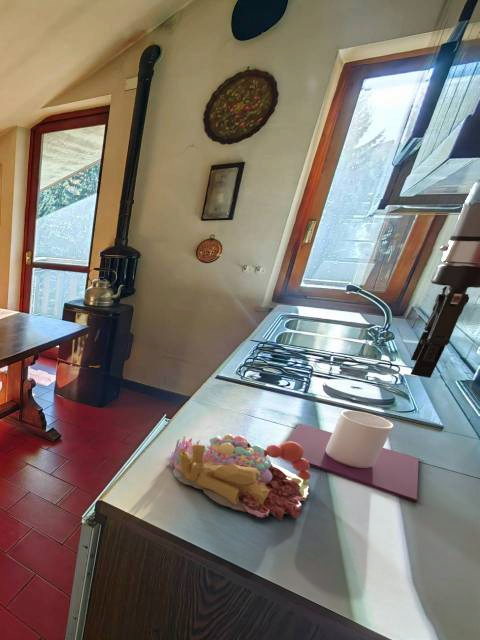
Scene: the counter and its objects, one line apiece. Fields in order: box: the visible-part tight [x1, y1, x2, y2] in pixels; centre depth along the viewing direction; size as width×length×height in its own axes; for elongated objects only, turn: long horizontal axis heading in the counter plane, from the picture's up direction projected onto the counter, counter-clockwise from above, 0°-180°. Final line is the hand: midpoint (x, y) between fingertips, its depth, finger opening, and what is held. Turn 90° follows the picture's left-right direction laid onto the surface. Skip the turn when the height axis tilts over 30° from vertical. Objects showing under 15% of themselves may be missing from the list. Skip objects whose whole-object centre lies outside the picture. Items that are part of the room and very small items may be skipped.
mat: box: [286, 423, 420, 503], centre depth 90 cm, size 22×22×1 cm
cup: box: [326, 410, 394, 468], centre depth 88 cm, size 8×12×10 cm
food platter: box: [169, 433, 312, 522], centre depth 79 cm, size 25×24×9 cm
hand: (419, 368), depth 83 cm, fingers open, 13 cm apart
